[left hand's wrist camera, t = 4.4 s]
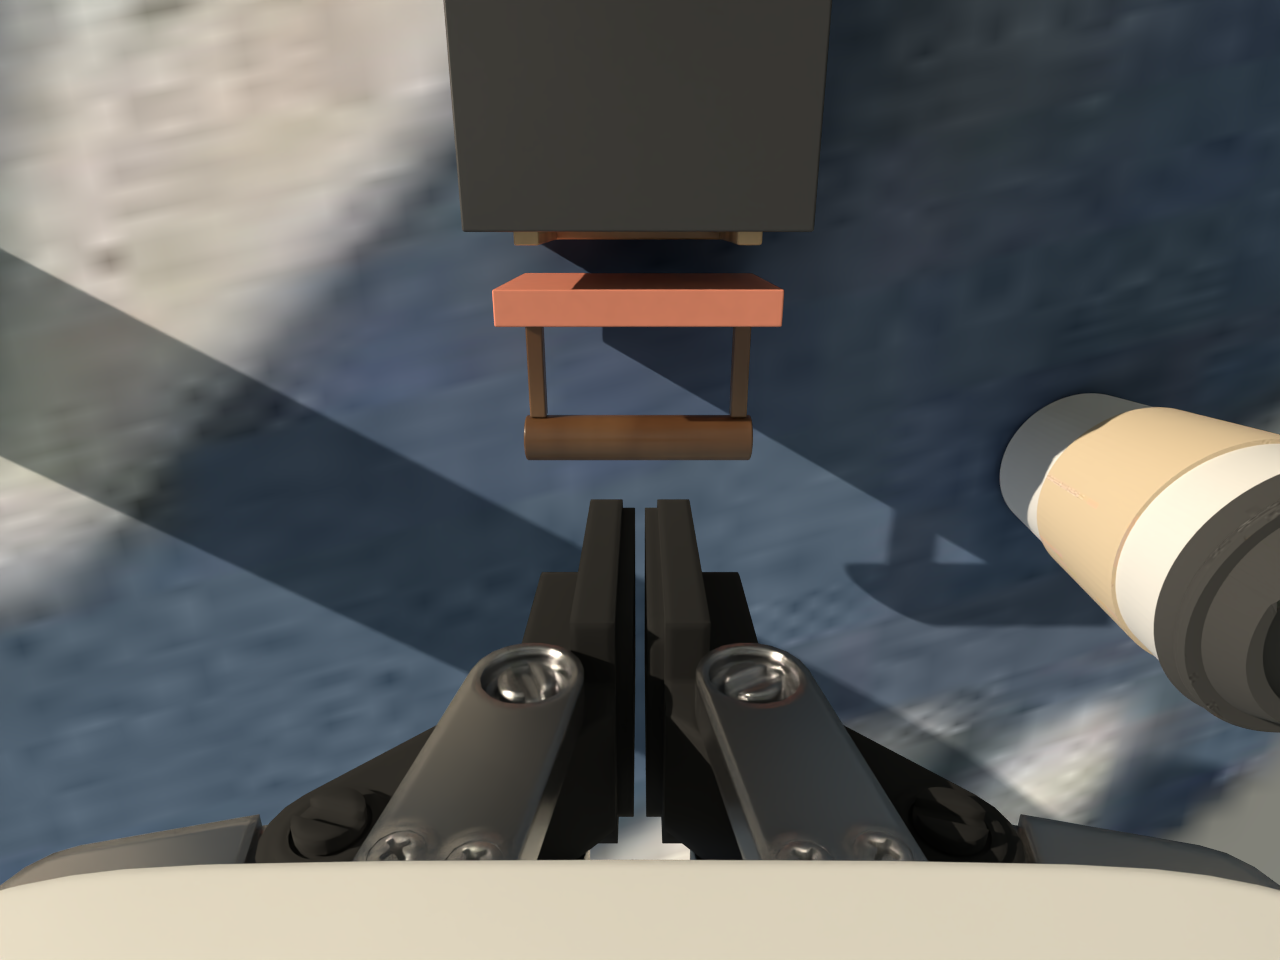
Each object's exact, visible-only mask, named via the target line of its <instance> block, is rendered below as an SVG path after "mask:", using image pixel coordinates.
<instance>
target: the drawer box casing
mask: <svg viewBox="0 0 1280 960" xmlns="http://www.w3.org/2000/svg"><path fill="white" fill-rule="evenodd" d="M831 8H832V0H444V12H445V24H446V37H447V49H448V61H449V73H450V86H451V98H452V110H453V122H454V135H455V147H456V159H457V171H458V184H459V196H460V208H461V220H462V230H463V231H464V232H812V231H813V230H814V222H815V209H816V197H817V184H818V172H819V159H820V146H821V134H822V121H823V109H824V96H825V84H826V71H827V59H828V46H829V33H830V21H831Z"/></svg>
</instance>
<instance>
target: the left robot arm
mask: <svg viewBox="0 0 1280 960" xmlns="http://www.w3.org/2000/svg"><path fill="white" fill-rule="evenodd" d="M634 738H635V508H623V500H591V501H590V507H589V513H588V518H587V524H586V530H585V536H584V542H583V547H582V553H581V559H580V565H579V570H578V572H542V574H541V576H540V579H539V583H538V587H537V590H536V594H535V597H534V601H533V605H532V608H531V612H530V616H529V619H528V623H527V626H526V630H525V634H524V637H523V641H522V644H517V645H511V646H507V647H505V648H502V649H499V650H496V651H494V652H492V653H490V654H489V655H487V656H486V657H484V658H482V659H481V660H480V661H479V662H478V663H477V664H476V665H475V666H474V667H473V668H472V670H471V671H470V673H469V674H468V676H467V677H466V679H465V681H464V682H463V684H462V685H461V687H460V689H459V690H458V692H457V693H456V695H455V697H454V698H453V700H452V702H451V703H450V705H449V706H448V708H447V710H446V711H445V713H444V714H443V716H442V718H441V719H440V721H439V722H438V724H437V725H436V726H434V727H432V728H430V729H429V730H427V731H425V732H423V733H421V734H419V735H417V736H415V737H413V738H411V739H410V740H408V741H406V742H404V743H402V744H400V745H398V746H396V747H394V748H393V749H391V750H389V751H387V752H385V753H383V754H381V755H379V756H377V757H375V758H374V759H372V760H370V761H368V762H366V763H364V764H362V765H360V766H358V767H357V768H355V769H353V770H351V771H349V772H347V773H345V774H343V775H341V776H339V777H338V778H336V779H334V780H332V781H330V782H328V783H326V784H324V785H322V786H321V787H319V788H317V789H315V790H313V791H311V792H309V793H307V794H305V795H304V796H302V797H301V798H299V799H298V800H296V801H294V802H293V803H291V804H290V805H288V806H287V807H285V808H284V809H283V810H282V811H281V812H280V813H279V814H278V815H277V816H276V817H275V818H274V819H273V820H272V821H271V822H270V823H269V825H264V826H262V823H261V819H260V815H259V814H258V815H253V816H247V817H241V818H235V819H229V820H224V821H218V822H212V823H206V824H201V825H195V826H189V827H183V828H178V829H172V830H166V831H160V832H155V833H149V834H143V835H137V836H131V837H126V838H120V839H114V840H108V841H103V842H97V843H91V844H85V845H80V846H77V847H73V848H70V849H66V850H63V851H59V852H56V853H53V854H51V855H49V856H47V857H45V858H43V859H41V860H39V861H37V862H35V863H33V864H31V865H29V866H27V867H25V868H24V869H22V870H21V871H20V872H18V873H17V874H15V875H14V876H13V877H11V878H10V879H9V880H7V881H6V882H5V883H3V884H2V885H0V960H1280V885H1278V884H1277V883H1275V882H1274V881H1273V880H1271V879H1270V878H1269V877H1267V876H1266V875H1265V874H1263V873H1262V872H1260V871H1259V870H1258V869H1256V868H1255V867H1253V866H1251V865H1249V864H1247V863H1245V862H1243V861H1241V860H1239V859H1237V858H1235V857H1233V856H1231V855H1229V854H1227V853H1224V852H1221V851H1217V850H1214V849H1210V848H1207V847H1203V846H1200V845H1195V844H1189V843H1183V842H1177V841H1172V840H1166V839H1160V838H1154V837H1149V836H1143V835H1137V834H1131V833H1125V832H1120V831H1114V830H1108V829H1102V828H1097V827H1091V826H1085V825H1079V824H1074V823H1068V822H1062V821H1056V820H1051V819H1045V818H1039V817H1033V816H1027V815H1022V814H1021V815H1020V819H1019V823H1018V826H1016V825H1011V823H1010V822H1009V821H1008V820H1007V819H1006V818H1005V817H1004V816H1003V815H1002V814H1001V813H1000V812H999V811H998V810H997V809H996V808H995V807H993V806H992V805H990V804H989V803H987V802H986V801H984V800H982V799H981V798H979V797H978V796H976V795H975V794H973V793H971V792H969V791H967V790H965V789H963V788H961V787H959V786H958V785H956V784H954V783H952V782H950V781H948V780H946V779H944V778H942V777H941V776H939V775H937V774H935V773H933V772H931V771H929V770H927V769H925V768H923V767H922V766H920V765H918V764H916V763H914V762H912V761H910V760H908V759H906V758H905V757H903V756H901V755H899V754H897V753H895V752H893V751H891V750H889V749H887V748H886V747H884V746H882V745H880V744H878V743H876V742H874V741H872V740H870V739H869V738H867V737H865V736H863V735H861V734H859V733H857V732H855V731H853V730H851V729H850V728H848V727H846V726H844V725H843V724H842V722H841V721H840V719H839V718H838V716H837V714H836V713H835V711H834V710H833V708H832V706H831V705H830V703H829V702H828V700H827V698H826V697H825V695H824V693H823V692H822V690H821V689H820V687H819V685H818V684H817V682H816V681H815V679H814V677H813V676H812V674H811V673H810V671H809V670H808V668H807V667H806V666H805V665H804V664H803V663H802V662H801V661H800V660H799V659H798V658H796V657H794V656H793V655H791V654H790V653H788V652H786V651H784V650H781V649H778V648H775V647H773V646H769V645H763V644H758V641H757V637H756V634H755V630H754V626H753V623H752V619H751V616H750V612H749V608H748V605H747V601H746V597H745V594H744V590H743V587H742V583H741V579H740V576H739V574H738V572H702V570H701V565H700V559H699V553H698V547H697V542H696V536H695V530H694V524H693V518H692V513H691V507H690V501H689V500H657V508H645V738H646V817H661V820H662V843H682V844H684V845H685V846H686V847H687V848H689V849H690V860H590V849H591V848H593V847H594V846H595V845H596V844H598V843H618V820H619V817H634Z"/></svg>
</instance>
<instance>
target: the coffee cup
mask: <svg viewBox="0 0 1280 960" xmlns="http://www.w3.org/2000/svg"><path fill="white" fill-rule="evenodd" d="M1000 487H1001V491H1002V495H1003V497H1004V500H1005V502H1006V504H1007V505H1008V507H1009V508H1010V510H1011V511H1012V512H1013V513H1014V514H1015V515H1016V516H1017V517H1018V518H1019V519H1020V520H1021V521H1022V522H1023V523H1024V524H1025V525H1026V526H1027V527H1028V528H1029V529H1030V530H1031V531H1032V532H1033V533H1034V534H1035V535H1036V536H1037V537H1038V538H1039V539H1040V540H1041V541H1042V542H1043V545H1044V546H1045V548H1046V550H1047V551H1048V553H1049V554H1050V555H1051V556H1052V558H1053V559H1054V560H1055V561H1056V562H1057V563H1058V564H1059V565H1060V566H1061V567H1062V568H1063V569H1064V570H1065V571H1066V572H1067V573H1068V574H1069V575H1070V576H1071V577H1072V578H1073V579H1074V580H1075V581H1076V582H1077V583H1078V584H1079V585H1080V586H1081V587H1082V588H1083V589H1084V590H1085V591H1086V592H1087V593H1088V595H1089V596H1090V597H1091V598H1092V599H1093V600H1094V601H1095V602H1096V603H1097V604H1098V605H1099V606H1100V607H1101V608H1102V609H1103V610H1104V611H1105V612H1106V613H1107V614H1108V615H1109V616H1110V617H1111V618H1112V619H1113V620H1114V621H1115V622H1116V623H1117V624H1118V625H1119V626H1120V627H1121V628H1122V629H1123V630H1124V631H1125V632H1126V633H1127V635H1128V636H1129V637H1130V638H1131V639H1132V640H1133V641H1134V642H1135V643H1136V644H1138V645H1139V646H1140V647H1141V648H1143V649H1144V650H1145V651H1147V652H1149V653H1150V654H1152V655H1154V656H1155V657H1156V658H1157V659H1158V660H1159V662H1160V664H1161V666H1162V668H1163V670H1164V672H1165V674H1166V675H1167V677H1168V678H1169V680H1170V681H1171V682H1172V684H1173V685H1174V686H1175V687H1176V688H1177V689H1178V690H1179V691H1180V692H1181V693H1182V694H1183V695H1184V696H1186V697H1187V698H1188V699H1190V700H1191V701H1193V702H1194V703H1196V704H1198V705H1199V706H1201V707H1203V708H1205V709H1206V710H1207V711H1209V712H1210V713H1211V714H1213V715H1214V716H1216V717H1218V718H1219V719H1221V720H1223V721H1226V722H1228V723H1230V724H1233V725H1236V726H1239V727H1242V728H1246V729H1251V730H1256V731H1264V732H1280V435H1279V434H1275V433H1271V432H1267V431H1263V430H1259V429H1255V428H1251V427H1247V426H1243V425H1239V424H1235V423H1231V422H1227V421H1223V420H1218V419H1214V418H1210V417H1206V416H1202V415H1198V414H1194V413H1190V412H1186V411H1182V410H1178V409H1173V408H1164V407H1152V406H1148V405H1144V404H1140V403H1136V402H1132V401H1129V400H1125V399H1121V398H1117V397H1113V396H1109V395H1105V394H1097V393H1086V394H1078V395H1073V396H1069V397H1066V398H1063V399H1060V400H1057V401H1055V402H1053V403H1051V404H1049V405H1047V406H1045V407H1044V408H1042V409H1041V410H1039V411H1038V412H1036V413H1035V414H1034V415H1032V416H1031V417H1030V418H1029V419H1028V420H1027V421H1026V422H1025V423H1024V424H1023V425H1022V426H1021V427H1020V428H1019V429H1018V431H1017V432H1016V433H1015V435H1014V436H1013V438H1012V439H1011V441H1010V443H1009V444H1008V446H1007V448H1006V451H1005V453H1004V456H1003V459H1002V463H1001V468H1000Z"/></svg>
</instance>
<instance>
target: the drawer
mask: <svg viewBox="0 0 1280 960" xmlns="http://www.w3.org/2000/svg"><path fill="white" fill-rule="evenodd" d="M762 234H763V232H514V244H515V245H539V244H543V243H546V242H549V241H553V240H556V239H722V240H725V241H728V242H732V243H735V244H738V245H760V244H761V243H762ZM492 295H493V310H494V324H495V326H496V327H525V328H526V346H527V364H528V383H529V401H530V415H528V416H527V417H526V419H525V425H524V448H525V455H526V458H527V459H528V460H749V459H750V457H751V454H752V447H753V427H752V420H751V417H750V416H749V415H747V397H748V378H749V360H750V341H751V327H781V326H782V316H783V301H784V290H783V289H781V288H779V287H777V286H775V285H773V284H771V283H770V282H768V281H766V280H764V279H762V278H760V277H758V276H756V275H754V274H752V273H525V274H523V275H521V276H519V277H517V278H515V279H513V280H511V281H509V282H507V283H505V284H503V285H501V286H500V287H498V288H496V289H494V290H492ZM544 327H733V341H732V363H731V386H730V408H729V413H730V415H547V413H548V410H547V388H546V367H545V345H544Z"/></svg>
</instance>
